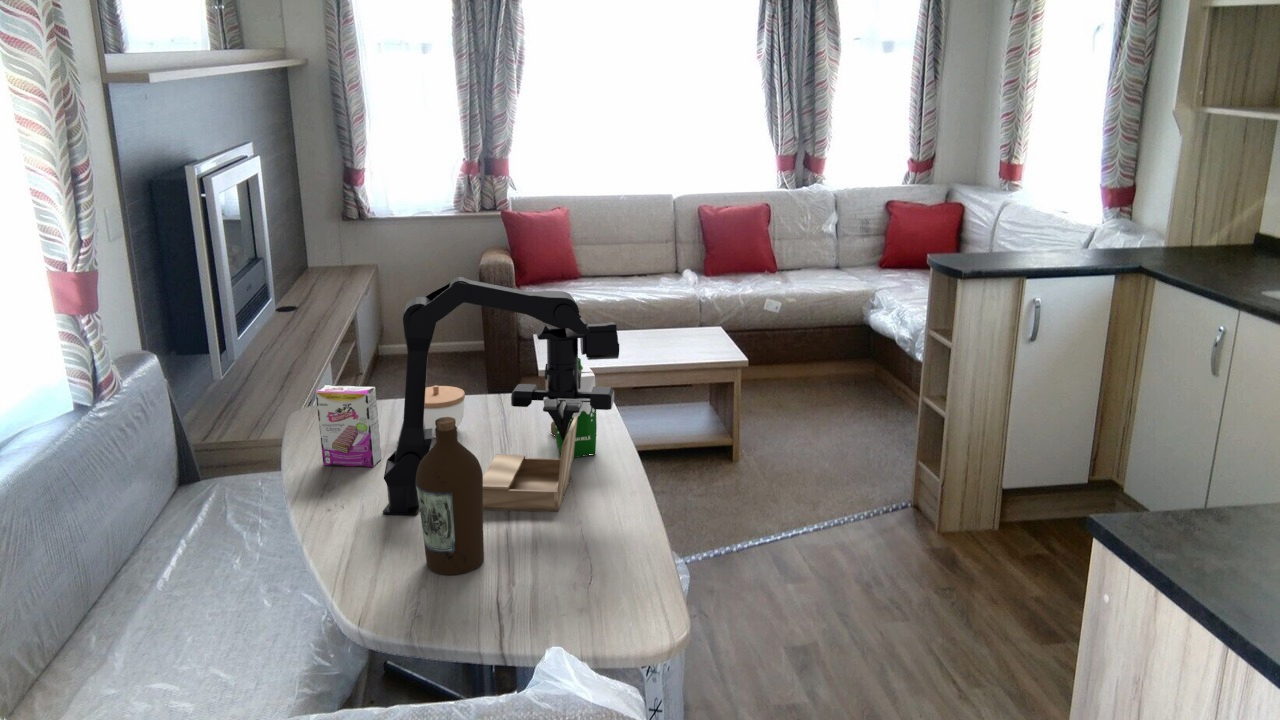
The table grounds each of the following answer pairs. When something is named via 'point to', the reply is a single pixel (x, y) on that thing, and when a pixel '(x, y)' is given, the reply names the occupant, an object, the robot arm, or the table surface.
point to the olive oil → (451, 503)
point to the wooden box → (530, 488)
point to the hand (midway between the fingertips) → (563, 439)
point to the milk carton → (583, 418)
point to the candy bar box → (349, 425)
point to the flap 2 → (567, 453)
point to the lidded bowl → (443, 405)
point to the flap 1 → (502, 471)
